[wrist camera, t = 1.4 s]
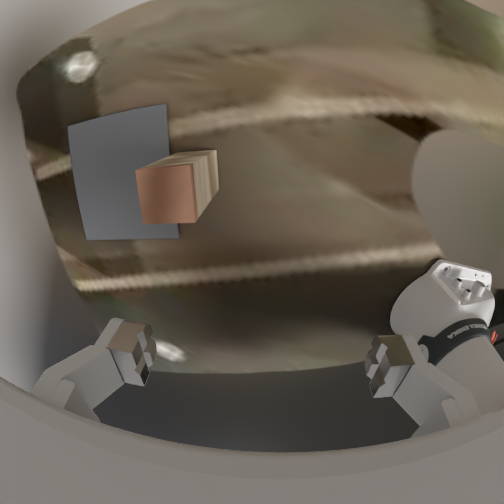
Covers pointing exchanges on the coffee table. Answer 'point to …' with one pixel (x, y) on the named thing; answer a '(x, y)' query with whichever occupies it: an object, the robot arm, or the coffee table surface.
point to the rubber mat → (118, 171)
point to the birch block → (177, 187)
